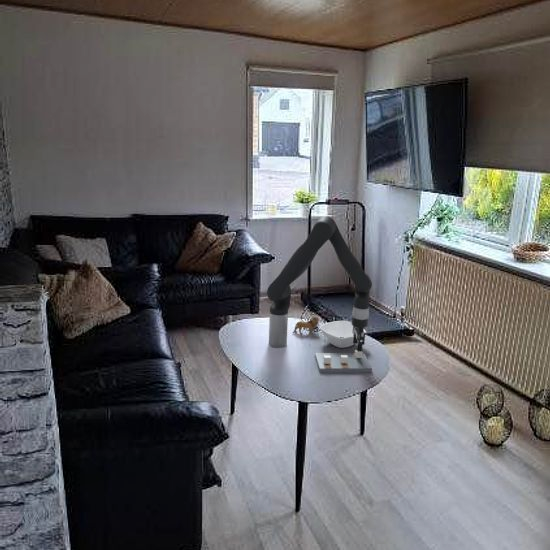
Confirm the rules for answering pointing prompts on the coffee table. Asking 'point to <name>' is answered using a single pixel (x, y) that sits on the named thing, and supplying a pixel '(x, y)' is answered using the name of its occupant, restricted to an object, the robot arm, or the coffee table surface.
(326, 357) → the switch
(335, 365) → the switch unit
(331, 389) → the coffee table surface
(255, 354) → the coffee table surface
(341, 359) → the switch
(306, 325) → the lion figurine
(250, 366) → the coffee table surface
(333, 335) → the bowl
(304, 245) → the robot arm
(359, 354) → the switch
